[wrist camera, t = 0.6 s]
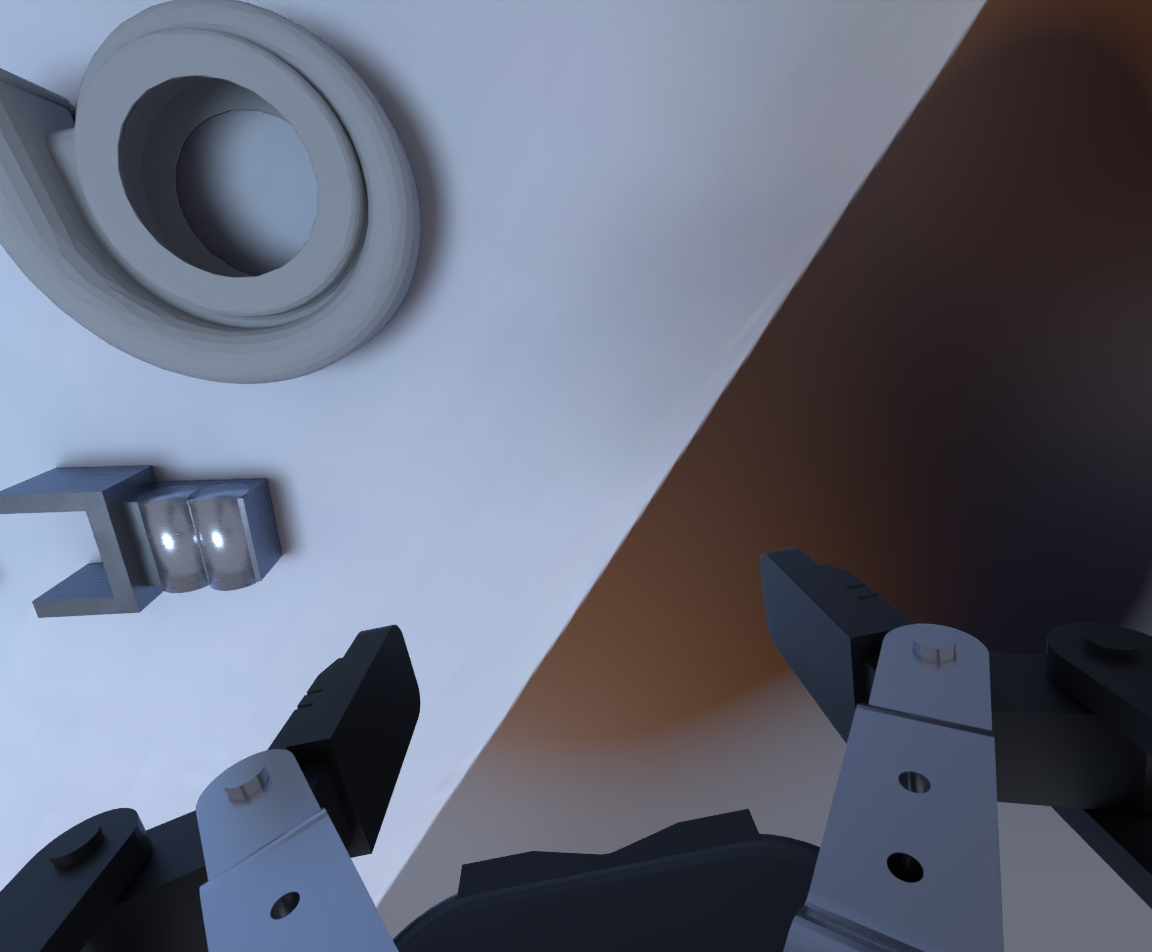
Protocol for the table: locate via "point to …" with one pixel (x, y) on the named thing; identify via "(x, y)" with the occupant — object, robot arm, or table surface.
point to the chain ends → (152, 535)
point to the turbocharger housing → (154, 216)
